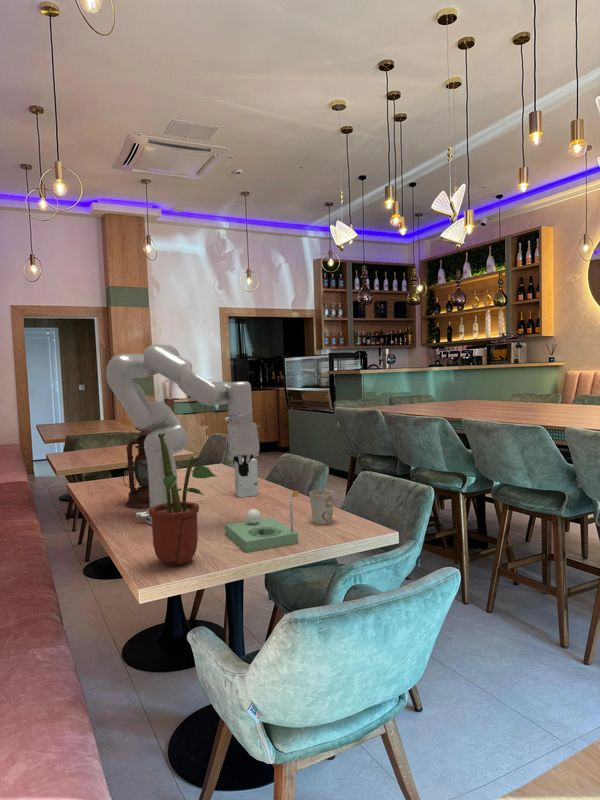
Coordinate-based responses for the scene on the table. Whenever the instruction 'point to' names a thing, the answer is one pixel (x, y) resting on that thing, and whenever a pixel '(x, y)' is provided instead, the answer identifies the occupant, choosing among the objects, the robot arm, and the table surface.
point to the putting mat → (263, 532)
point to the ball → (253, 516)
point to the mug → (322, 506)
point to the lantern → (138, 474)
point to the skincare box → (246, 480)
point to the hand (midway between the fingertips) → (243, 475)
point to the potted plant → (176, 515)
